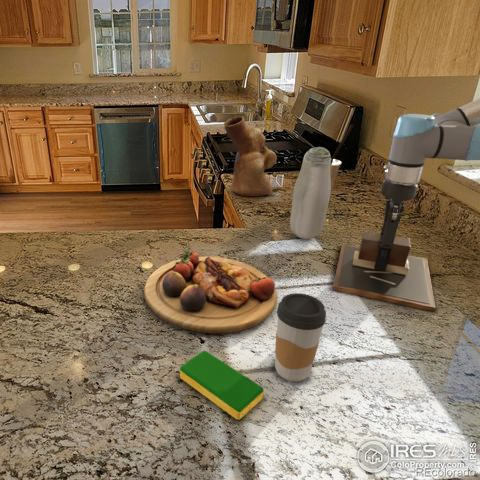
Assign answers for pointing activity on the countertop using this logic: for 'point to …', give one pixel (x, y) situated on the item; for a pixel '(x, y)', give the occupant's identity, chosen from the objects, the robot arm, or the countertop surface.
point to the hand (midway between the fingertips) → (380, 264)
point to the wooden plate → (210, 294)
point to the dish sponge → (221, 384)
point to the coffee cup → (298, 335)
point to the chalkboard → (385, 281)
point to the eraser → (370, 251)
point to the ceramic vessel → (249, 158)
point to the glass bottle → (311, 194)
